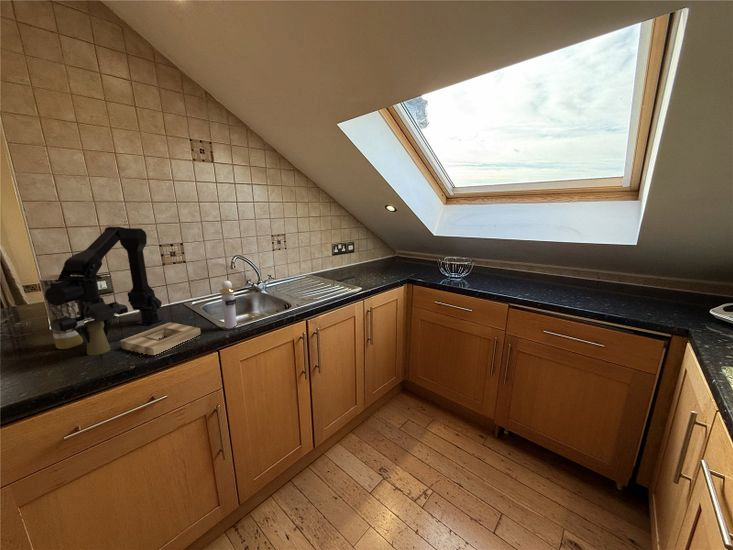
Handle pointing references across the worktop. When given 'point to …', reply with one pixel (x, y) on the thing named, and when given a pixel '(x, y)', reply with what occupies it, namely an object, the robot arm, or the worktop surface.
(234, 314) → the perfume bottle
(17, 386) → the worktop surface
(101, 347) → the cork
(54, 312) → the grey bark cylinder
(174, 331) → the socket board
